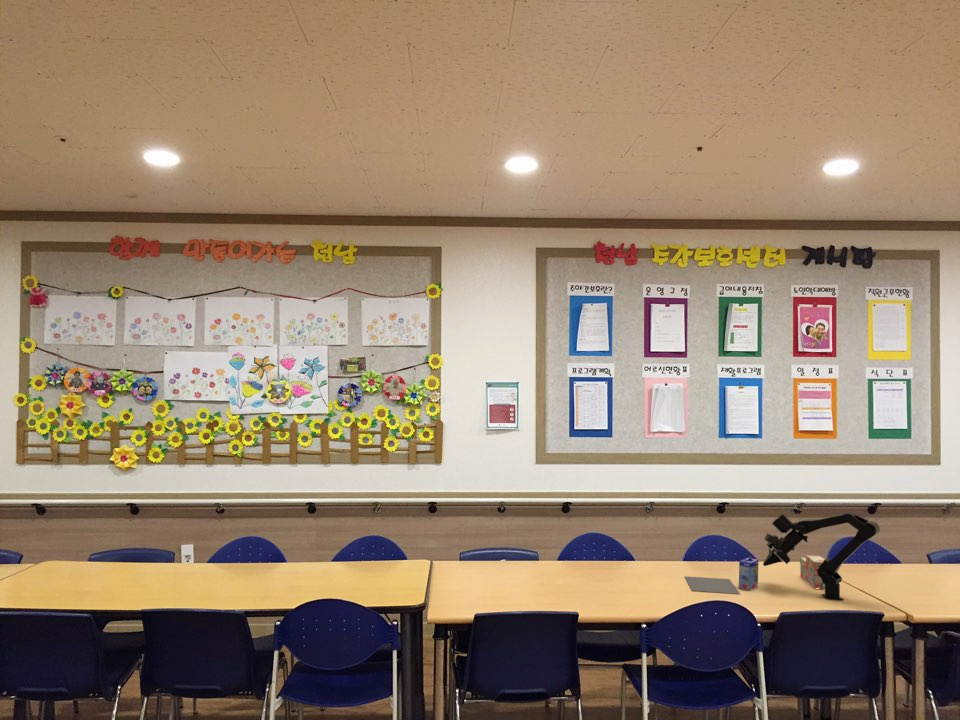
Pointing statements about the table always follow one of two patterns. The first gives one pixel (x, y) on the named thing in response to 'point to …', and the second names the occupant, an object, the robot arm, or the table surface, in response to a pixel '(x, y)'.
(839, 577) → the robot arm
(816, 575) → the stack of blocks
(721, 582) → the mat
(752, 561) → the ink cartridge box
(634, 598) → the table surface
